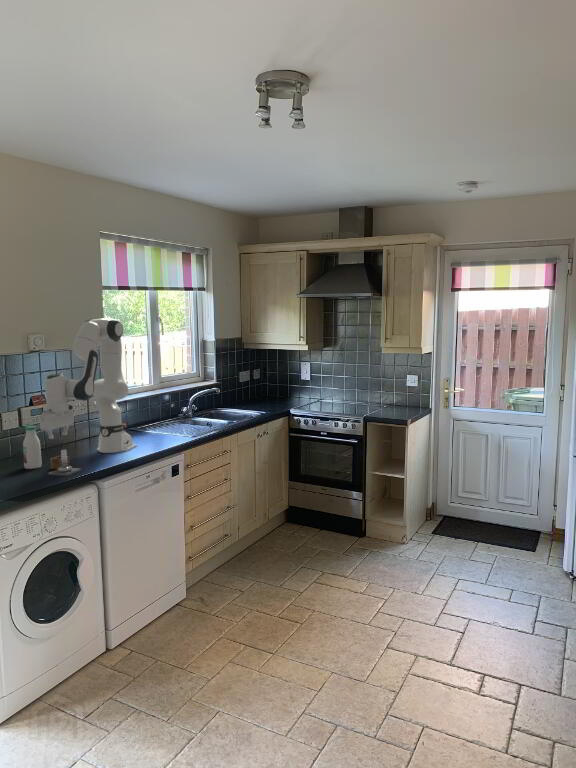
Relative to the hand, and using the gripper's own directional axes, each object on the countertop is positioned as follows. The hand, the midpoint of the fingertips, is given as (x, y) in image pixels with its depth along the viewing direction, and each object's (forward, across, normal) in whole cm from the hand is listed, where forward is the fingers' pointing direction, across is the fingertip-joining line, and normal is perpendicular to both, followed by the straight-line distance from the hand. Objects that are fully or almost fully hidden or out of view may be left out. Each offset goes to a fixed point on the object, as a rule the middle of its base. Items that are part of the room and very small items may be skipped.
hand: (58, 436), depth 272 cm
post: (+15, -8, -9) cm, 19 cm away
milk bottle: (+15, -2, +14) cm, 21 cm away
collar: (+15, 0, 0) cm, 15 cm away
